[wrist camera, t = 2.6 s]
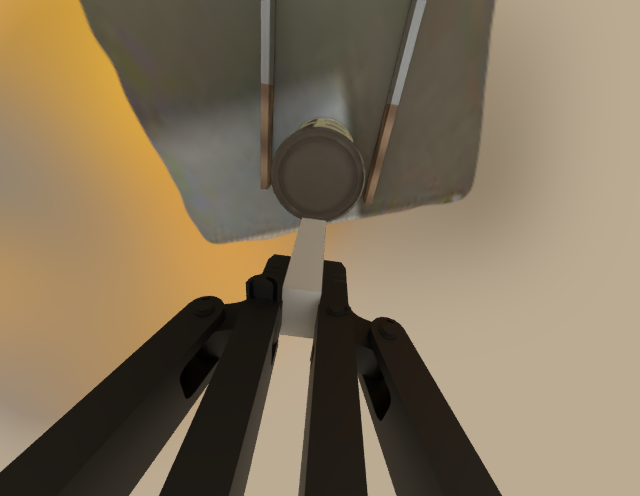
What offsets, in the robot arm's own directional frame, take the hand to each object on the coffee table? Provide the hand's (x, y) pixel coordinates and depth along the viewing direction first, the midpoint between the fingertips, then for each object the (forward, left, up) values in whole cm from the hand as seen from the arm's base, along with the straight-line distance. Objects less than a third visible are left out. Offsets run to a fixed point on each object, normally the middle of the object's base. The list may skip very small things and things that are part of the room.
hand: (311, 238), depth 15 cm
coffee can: (0, 0, -27) cm, 27 cm away
